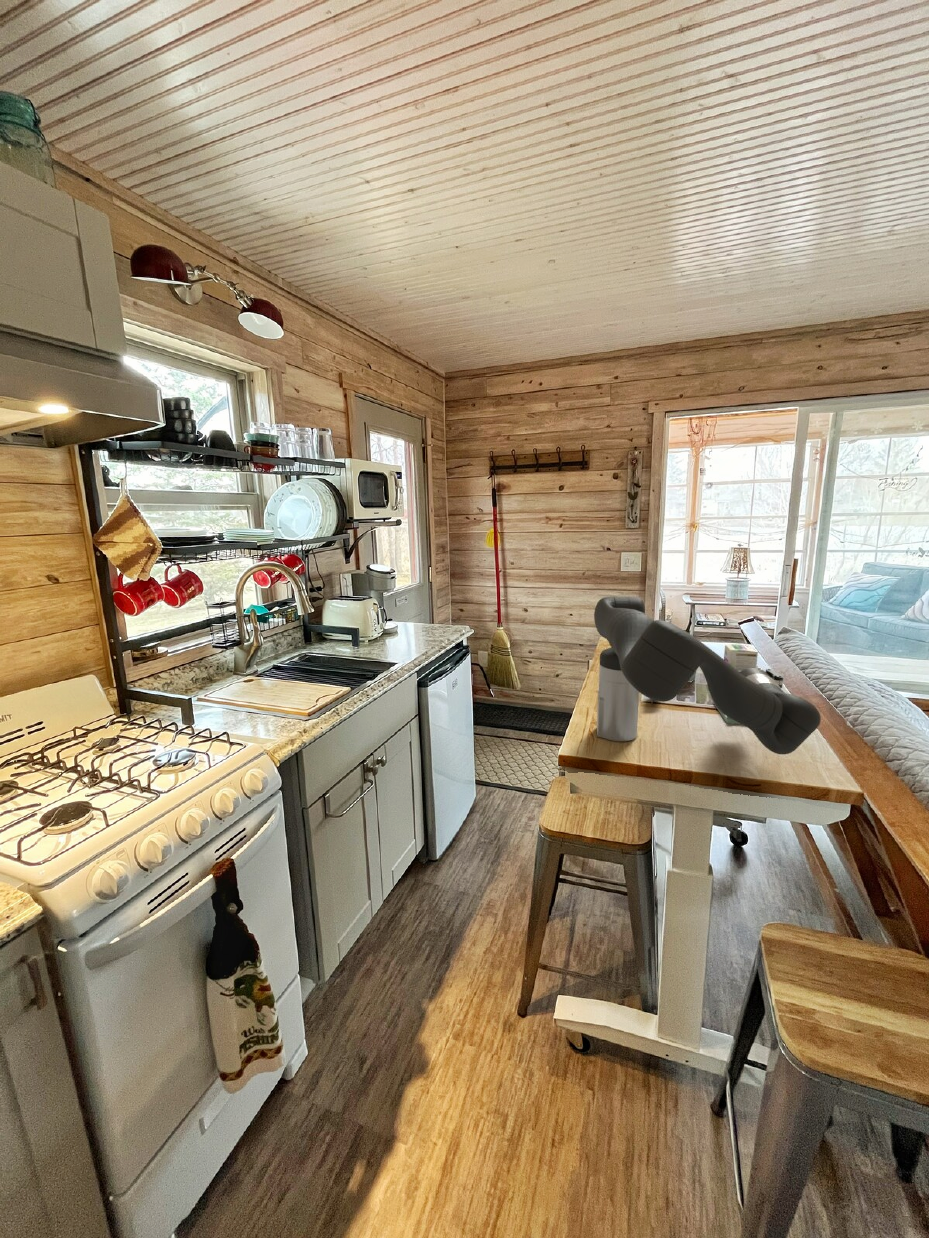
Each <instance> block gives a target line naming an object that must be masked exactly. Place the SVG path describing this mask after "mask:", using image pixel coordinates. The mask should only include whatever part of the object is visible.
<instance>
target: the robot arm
mask: <svg viewBox="0 0 929 1238" xmlns="http://www.w3.org/2000/svg"><path fill="white" fill-rule="evenodd" d="M593 617H594V618H593V619H594V625H595V628H596V631H597V632H598V634H599V635H600V636H601V637H602V638H603V639H605V640H606V641H607V642H608V643H609V645H610V647H609V648H606V649H603V650H602V651H601V652H600V654H599V667H598V668H599V669H598V671H599V672H598V690H597V708H596V709H597V710H596V737H597V738H603V739H604V740H609V741H614V742H629V741H633V740H635V739H636V738H637V737H638V736H637V735H638V729H639V728H638V725H639V724H638V723H639V721H638V719H639V701H640V694H641V695H642V696H644V697H646V698H648V699H649V700H651V701H652V700H653V701H656V702H662V703H663V702H664V703H665V702H669V701H671V700H674V699H675V698H677V696H678V695H679V694H680V693H681V691H682V690H683V689H684V688H685V686H686V685H687V682H688V681H689V680H690V678H691V677H692V675H693V674H694V673H695V671H696V670H697V671H698V669H700V670H701V672H702V674H703V676H704V678H705V681H706V684H707V688H708V692H709V694H710V697H711V700H712V702H713V704H714V703H715V705H716V706H717V708H718V709H719V710H720V711H721V712H722V713H723V714H724V715H726V716H727V717H729V718H731V719H733V720H735V721H737V722H739V723H740V724H739V725H741V724H742V725H743V726H745V727H747V728H748V729H749V730H750V731H751V732H753V734H754V736H755V737H756V738H757V739H758V741H759V742H760V743H761V745H763V746H764V747H765V748H766V749H768V750H769V751H771V752H772V753H774V754H777V755H788V754H791V753H793V752H794V751H796V750H797V749H798V748H799V747H800V746H801V745H802V744H803V743H804V742H805V741H806V740H807V739H808V738H809V737H810V736H811V735H812V734H813V733H814V732H815V731H816V730H817V729H818V727H819V726H820V724H821V720H822V719H821V713H820V711H819V710H818V708H817V707H816V706H815V705H814V704H813V703H811V702H810V701H808V700H807V699H805V698H803V697H800V696H798V695H795V694H791V693H789V692H788V693H787V692H784V690H783V685H784V676H783V675H782V674H780V673H778V672H776V671H775V670H773V669H771V668H766V669H765V670H763V668H762V667H759V666H758V665H756V668H747V669H744V670H738V669H735V668H733V667H732V666H731V665H730V664H729V663H728V662H726V661H725V660H724V657H723V658H722V656H720V655H719V654H718V653H716V652H715V651H714V650H712V649H711V648H710V647H709V646H708V645H706V644H704V643H703V642H702V641H700V640H699V639H698V638H697V637H695V636H693V635H692V634H690V633H689V632H687V631H686V630H684V629H683V628H680V627H679V626H678V625H675V624H673V623H671V622H669V621H666V620H662V619H655V620H654V619H653V618H652V617H650V616H649V615H647V614H646V608H645V603H644V601H643V599H642V598H641V597H639V596H606V597H602V598H600V599H599V600H598V602H597V603H596V604H595V608H594V614H593ZM697 671H696V672H697ZM715 705H714V706H715ZM716 706H715V707H716ZM717 708H716V709H717ZM718 709H717V710H718Z"/></svg>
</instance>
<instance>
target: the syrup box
mask: <svg viewBox="0 0 929 1238" xmlns="http://www.w3.org/2000/svg"><path fill="white" fill-rule="evenodd" d="M724 645H725V646H724V654H723V659H724V660H725V661H726V662H728V663H729V664H730V665H731V666H732V667H733V668H735V669H738V670H744V669H747V668H756V666H758V665H757V664H758V655H759V651H756V650H755V649H754V648H753V647H752V645H747V644H740V643H739V644H737V643H735V644H734V643H730V644H724Z"/></svg>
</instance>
